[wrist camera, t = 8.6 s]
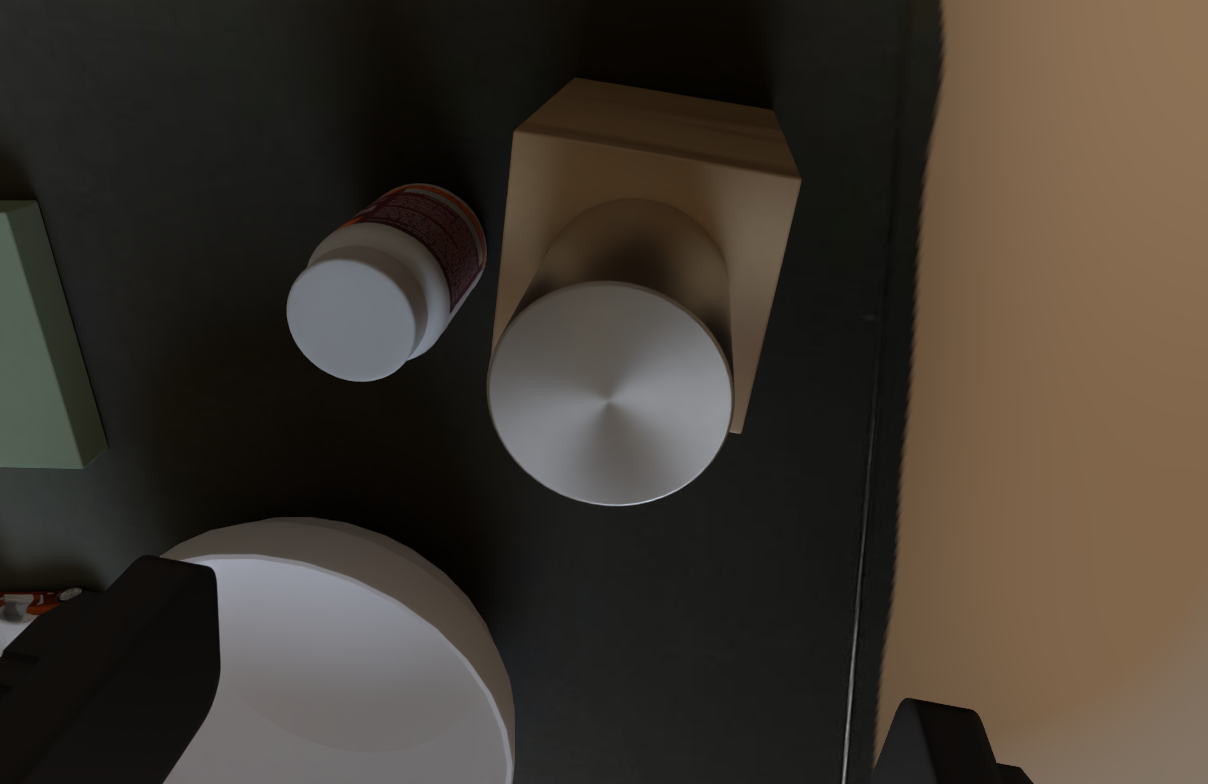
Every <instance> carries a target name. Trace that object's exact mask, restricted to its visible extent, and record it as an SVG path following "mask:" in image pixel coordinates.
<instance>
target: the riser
mask: <svg viewBox="0 0 1208 784" xmlns="http://www.w3.org/2000/svg"><path fill="white" fill-rule="evenodd" d="M801 181H802V180H801V177H800V174H799V172H798V169H797V167H796V165H795V162H794V160H793V157H792V155H791V152H790V150H789V147H788V145H787V142H786V140H785V138H784V135H783V133H782V130H781V128H780V125H779V123H778V120H777V118H776V115H775V113H774V111H773V110H770V109H764V108H758V107H752V106H746V105H740V104H734V103H728V102H721V101H715V100H709V99H703V98H697V97H691V96H685V95H679V94H673V93H667V92H661V91H655V90H649V89H643V88H637V87H631V86H625V85H619V84H613V83H607V82H601V81H595V80H589V79H583V78H577V77H575V78H574V79H572V80H571V81H570V82H569V83H568V84H567V85H566V86H564V87H563V88H562V89H561V90H560V91H559V92H558V93H556V94H555V95H554V96H553V97H552V98H551V99H550V100H549V101H547V102H546V103H545V104H544V105H543V106H542V107H541V108H539V109H538V110H537V111H536V112H535V113H534V114H533V115H531V116H530V117H529V118H528V119H527V120H526V121H525V122H523V123H522V124H521V125H520V126H519V127H518V128H517V129H515V130H514V132H513V142H512V152H511V162H510V172H509V182H508V192H507V202H506V212H505V222H504V232H503V242H502V252H501V262H500V272H499V282H498V292H497V302H496V312H495V322H494V332H493V342H492V352H491V357H492V354H493V351H494V348H495V346H496V344H497V342H498V340H499V338H500V336H501V334H502V333H503V331H504V329H505V327H506V325H507V324H508V322H509V320H510V318H511V316H512V315H513V313H514V311H515V309H516V307H517V306H518V304H519V302H520V300H521V299H522V297H523V295H524V293H525V291H526V290H527V288H528V286H529V284H530V282H531V281H532V279H533V277H534V275H535V273H536V272H537V270H538V268H539V266H540V264H541V263H542V261H543V259H544V257H545V255H546V254H547V252H548V250H549V248H550V246H551V245H552V243H553V241H554V240H555V239H556V237H557V236H558V234H559V233H560V232H561V231H562V230H563V228H564V227H565V226H566V225H567V224H568V223H569V222H571V221H572V220H573V219H574V218H575V217H577V216H578V215H580V214H581V213H583V212H585V211H586V210H588V209H590V208H592V207H595V206H597V205H599V204H602V203H606V202H609V201H614V200H620V199H645V200H652V201H656V202H660V203H663V204H666V205H669V206H671V207H674V208H676V209H678V210H680V211H681V212H683V213H685V214H687V215H688V216H689V217H691V218H692V219H694V220H695V221H696V222H697V223H698V224H699V225H700V226H701V227H702V228H704V229H705V231H706V232H707V233H708V234H709V235H710V237H711V238H712V239H713V241H714V242H715V244H716V246H717V247H718V249H719V251H720V253H721V255H722V258H723V260H724V263H725V266H726V270H727V274H728V282H729V295H730V314H731V332H732V351H733V369H734V388H735V407H734V413H733V420H732V424H731V427H730V430H729V432H733V433H741V432H742V429H743V425H744V421H745V416H746V412H747V408H748V404H749V400H750V395H751V391H752V387H753V383H754V379H755V374H756V370H757V366H758V362H759V358H760V353H761V349H762V345H763V341H764V337H765V332H766V328H767V324H768V320H769V316H770V311H771V307H772V303H773V299H774V294H775V290H776V286H777V282H778V278H779V273H780V269H781V265H782V261H783V257H784V252H785V248H786V244H787V240H788V236H789V231H790V227H791V223H792V219H793V215H794V210H795V206H796V202H797V198H798V194H799V189H800V185H801Z"/></svg>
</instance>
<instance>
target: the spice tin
mask: <svg viewBox="0 0 1208 784" xmlns="http://www.w3.org/2000/svg"><path fill="white" fill-rule="evenodd" d="M487 400H488V408H489V412H490V416H491V419H492V422H493V425H494V427H495V430H496V432H497V435H498V437H499V438H500V440H501V442H502V444H503V445H504V447H505V449H506V450H507V451H508V453H509V454H510V455H511V457H512V458H513V459H514V461H515V462H516V463H517V464H518V465H519V466H520V467H521V468H522V469H523V470H524V471H525V472H526V473H527V474H529V475H530V476H531V477H532V478H534V479H535V480H536V481H538V482H539V483H541V484H542V485H544V486H545V487H547V488H548V489H550V490H552V491H554V492H556V493H558V494H560V495H562V496H565V497H568V498H571V499H574V500H576V501H580V502H584V503H589V504H594V505H602V506H630V505H639V504H643V503H648V502H652V501H655V500H658V499H661V498H664V497H666V496H668V495H670V494H672V493H674V492H676V491H679V490H680V489H682V488H683V487H685V486H686V485H688V484H689V483H691V482H692V481H694V480H695V479H696V478H697V477H698V476H699V475H700V474H702V473H703V472H704V471H705V470H706V469H707V467H708V466H709V465H710V464H711V463H712V462H713V461H714V459H715V458H716V456H717V455H718V453H719V452H720V450H721V449H722V447H723V445H724V442H725V440H726V438H727V436H728V433H729V430H730V427H731V424H732V420H733V413H734V407H735V388H734V369H733V351H732V332H731V314H730V295H729V282H728V274H727V270H726V266H725V263H724V260H723V258H722V255H721V253H720V251H719V249H718V247H717V246H716V244H715V242H714V241H713V239H712V238H711V237H710V235H709V234H708V233H707V232H706V231H705V229H704V228H702V227H701V226H700V225H699V224H698V223H697V222H696V221H695V220H694V219H692V218H691V217H689V216H688V215H687V214H685V213H683V212H681V211H680V210H678V209H676V208H674V207H671V206H669V205H666V204H663V203H660V202H656V201H652V200H645V199H620V200H614V201H609V202H606V203H602V204H599V205H597V206H595V207H592V208H590V209H588V210H586V211H585V212H583V213H581V214H580V215H578V216H577V217H575V218H574V219H573V220H572V221H571V222H569V223H568V224H567V225H566V226H565V227H564V228H563V230H562V231H561V232H560V233H559V234H558V236H557V237H556V239H555V240H554V241H553V243H552V245H551V246H550V248H549V250H548V252H547V254H546V255H545V257H544V259H543V261H542V263H541V264H540V266H539V268H538V270H537V272H536V273H535V275H534V277H533V279H532V281H531V282H530V284H529V286H528V288H527V290H526V291H525V293H524V295H523V297H522V299H521V300H520V302H519V304H518V306H517V307H516V309H515V311H514V313H513V315H512V316H511V318H510V320H509V322H508V324H507V325H506V327H505V329H504V331H503V333H502V334H501V336H500V338H499V340H498V342H497V344H496V346H495V348H494V351H493V354H492V357H491V360H490V363H489V369H488V375H487Z"/></svg>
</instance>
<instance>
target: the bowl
mask: <svg viewBox="0 0 1208 784" xmlns="http://www.w3.org/2000/svg"><path fill="white" fill-rule="evenodd" d="M160 557H162V558H168V559H173V560H178V561H184V562H189V563H195V564H200V565H205V566H209V567H211V568H212V569H213V570H214V572H215V574H216V578H217V593H218V615H219V637H220V660H221V671H220V679H219V684H218V689H217V692H216V696H215V699H214V701H213V704H212V707H211V709H210V711H209V713H208V715H207V717H206V719H205V721H204V723H203V724H202V726H201V727H200V729H199V730H198V732H197V733H196V735H195V736H194V738H193V739H192V741H191V742H190V744H189V745H188V747H187V748H186V750H185V751H184V753H183V754H182V756H181V757H180V759H179V760H178V762H177V763H176V765H175V766H174V768H173V769H172V771H171V772H170V774H169V775H168V777H167V778H166V780H165V781H164V783H163V784H512V782H513V772H514V762H515V709H514V703H513V697H512V690H511V684H510V679H509V677H508V674H507V672H506V669H505V667H504V664H503V662H502V659H501V657H500V654H499V652H498V650H497V647H496V646H495V644H494V642H493V640H492V637H491V635H490V632H489V630H488V627H487V625H486V623H485V622H484V620H483V619H482V617H481V616H480V614H479V613H478V611H477V610H476V608H475V607H474V605H473V604H472V602H471V601H470V599H469V598H468V597H467V596H466V595H465V594H464V592H463V591H462V590H461V589H460V588H459V587H458V586H457V585H456V584H455V583H454V582H453V581H452V580H451V579H450V578H449V577H448V576H447V575H446V574H445V573H444V572H443V571H441V570H440V569H439V568H437V567H436V566H434V565H433V564H432V563H430V562H429V561H428V560H426V559H425V558H424V557H422V556H421V555H419V554H418V553H417V552H415V551H414V550H413V549H411V548H409V547H407V546H405V545H403V544H401V543H399V542H397V541H395V540H393V539H391V538H389V537H387V536H385V535H383V534H380V533H377V532H374V531H371V530H368V529H364V528H361V527H358V526H355V525H352V524H349V523H345V522H339V521H333V520H326V519H320V518H314V517H275V518H270V519H265V520H260V521H255V522H250V523H244V524H239V525H234V526H229V527H224V528H219V529H214V530H210V531H208V532H205V533H203V534H201V535H198V536H196V537H194V538H191V539H189V540H187V541H185V542H182V543H180V544H178V545H176V546H175V547H173V548H172V549H170V550H169V551H167V552H166V553H164V554H163V555H161V556H160Z"/></svg>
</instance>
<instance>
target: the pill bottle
mask: <svg viewBox="0 0 1208 784" xmlns="http://www.w3.org/2000/svg"><path fill="white" fill-rule="evenodd" d="M486 256H487V245H486V238H485V234H484V231H483V228H482V226H481V224H480V222H479V220H478V218H477V216H476V215H475V213H474V212H473V211H472V209H471V208H470V207H469V206H468V205H467V204H466V203H465V202H464V201H463V200H462V199H461V198H459V197H458V196H456V195H455V194H453V193H452V192H450V191H448V190H446V189H444V188H441V187H439V186H435V185H430V184H422V183H414V184H408V185H403V186H400V187H397V188H395V189H393V190H391V191H389V192H387V193H386V194H384V195H383V196H382V197H380V198H379V199H377V200H376V201H375V202H373V203H372V204H370V205H369V206H368V207H366V208H365V209H363V210H362V211H361V212H359V213H358V214H357V215H355V216H354V217H353V218H352V219H350V220H349V221H347V222H346V223H345V224H343V225H342V226H341V227H340V228H338V229H337V230H335V231H334V232H333V233H331V234H330V235H329V236H328V237H327V238H326V239H324V240H323V241H322V242H321V243H320V244H319V246H318V247H317V248H316V249H315V251H314V253H313V254H312V256H311V258H310V260H309V263H308V266H307V268H306V269H305V270H304V271H303V272H302V273H301V274H300V275H299V276H298V277H297V279H296V280H295V282H294V284H293V285H292V287H291V290H290V293H289V296H288V301H287V319H288V324H289V328H290V331H291V334H292V336H293V338H294V340H295V342H296V344H297V345H298V347H299V348H300V350H301V351H302V352H303V353H304V355H305V356H306V357H307V358H308V359H309V360H310V361H311V362H312V363H314V364H315V365H316V366H317V367H319V368H320V369H322V370H323V371H325V372H327V373H329V374H331V375H333V376H335V377H338V378H341V379H344V380H349V381H362V382H365V381H373V380H377V379H381V378H384V377H386V376H388V375H390V374H392V373H394V372H395V371H396V370H398V369H399V368H400V367H401V366H402V365H403V364H404V363H405V362H406V361H407V360H410V359H413V358H415V357H417V356H419V355H421V354H423V353H424V352H426V351H427V350H428V349H429V348H431V347H432V346H433V345H434V344H435V343H436V341H437V340H438V338H439V337H440V335H441V334H442V333H443V332H444V331H445V329H446V328H447V326H448V324H449V323H450V321H451V320H452V318H453V317H454V315H455V314H456V312H457V311H458V310H459V309H460V307H461V305H462V304H463V302H464V301H465V300H466V298H467V296H468V295H469V294H470V292H471V291H472V290H473V288H474V287H475V286H476V284H477V282H478V281H479V279H480V277H481V275H482V273H483V270H484V268H485V263H486Z"/></svg>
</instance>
